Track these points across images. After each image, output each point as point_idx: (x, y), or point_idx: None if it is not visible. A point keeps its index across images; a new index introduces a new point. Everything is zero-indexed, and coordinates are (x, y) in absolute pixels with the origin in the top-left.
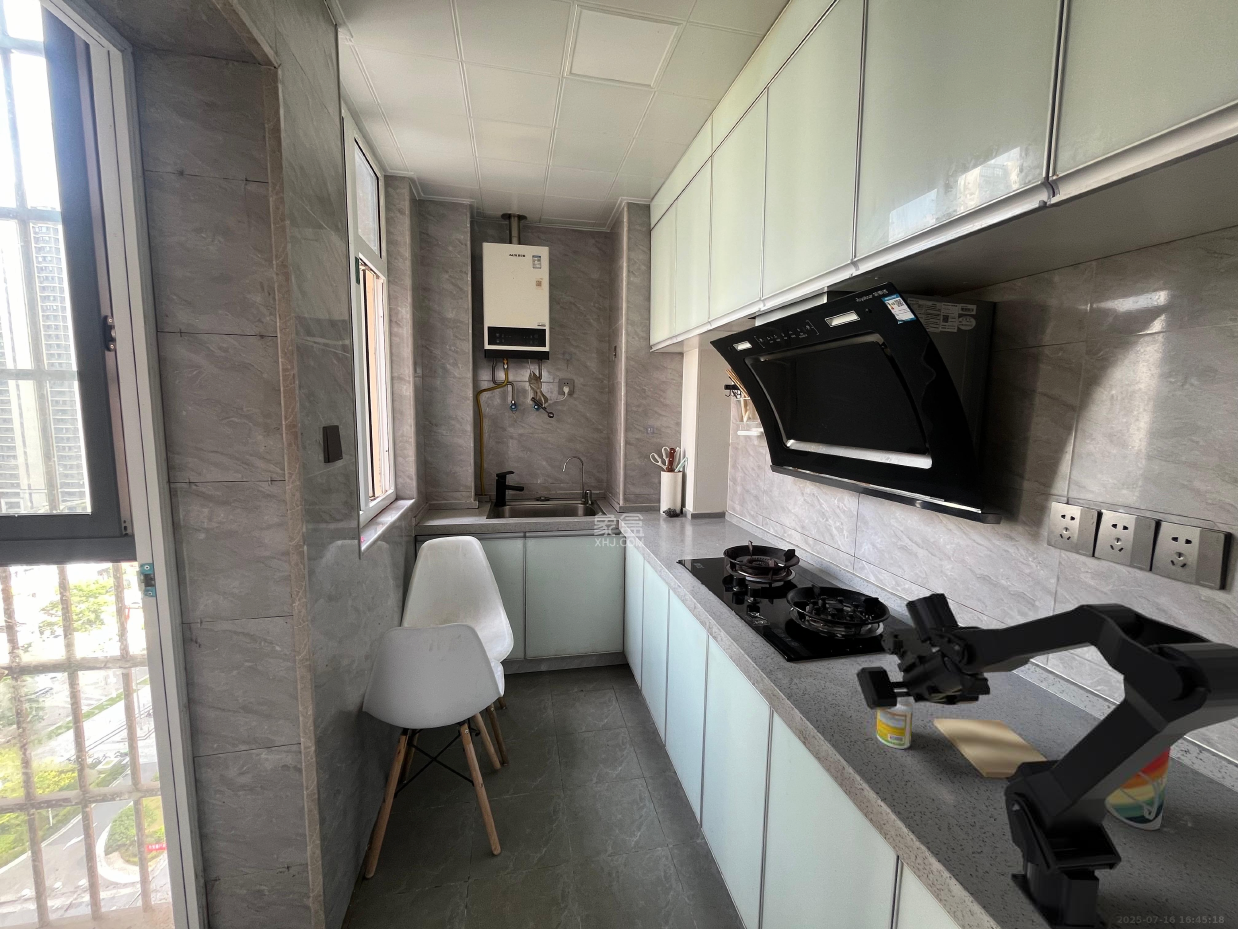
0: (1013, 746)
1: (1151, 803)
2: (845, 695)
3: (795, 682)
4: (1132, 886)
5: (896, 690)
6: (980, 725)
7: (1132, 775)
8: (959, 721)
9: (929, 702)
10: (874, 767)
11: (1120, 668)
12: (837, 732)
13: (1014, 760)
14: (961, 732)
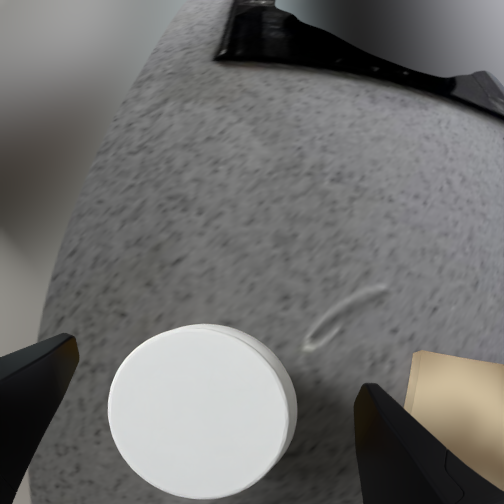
0: (498, 473)
1: None
2: (247, 173)
3: (161, 112)
4: None
5: (163, 446)
6: (500, 391)
7: None
8: (472, 371)
9: (363, 497)
10: (72, 469)
11: None
12: (80, 316)
13: None
14: (443, 424)
